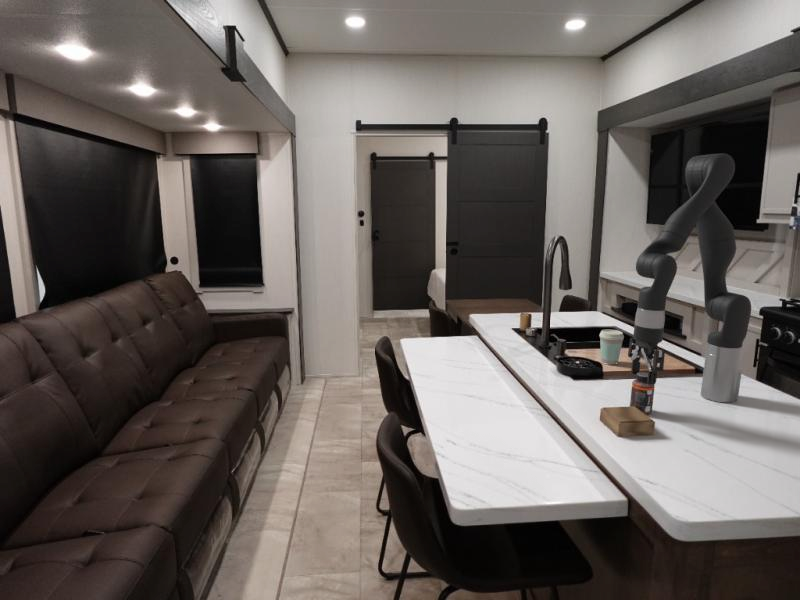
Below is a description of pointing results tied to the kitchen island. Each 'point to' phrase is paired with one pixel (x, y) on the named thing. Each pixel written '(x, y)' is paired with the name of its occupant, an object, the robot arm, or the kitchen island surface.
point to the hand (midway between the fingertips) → (642, 378)
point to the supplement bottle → (642, 394)
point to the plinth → (627, 421)
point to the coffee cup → (610, 345)
